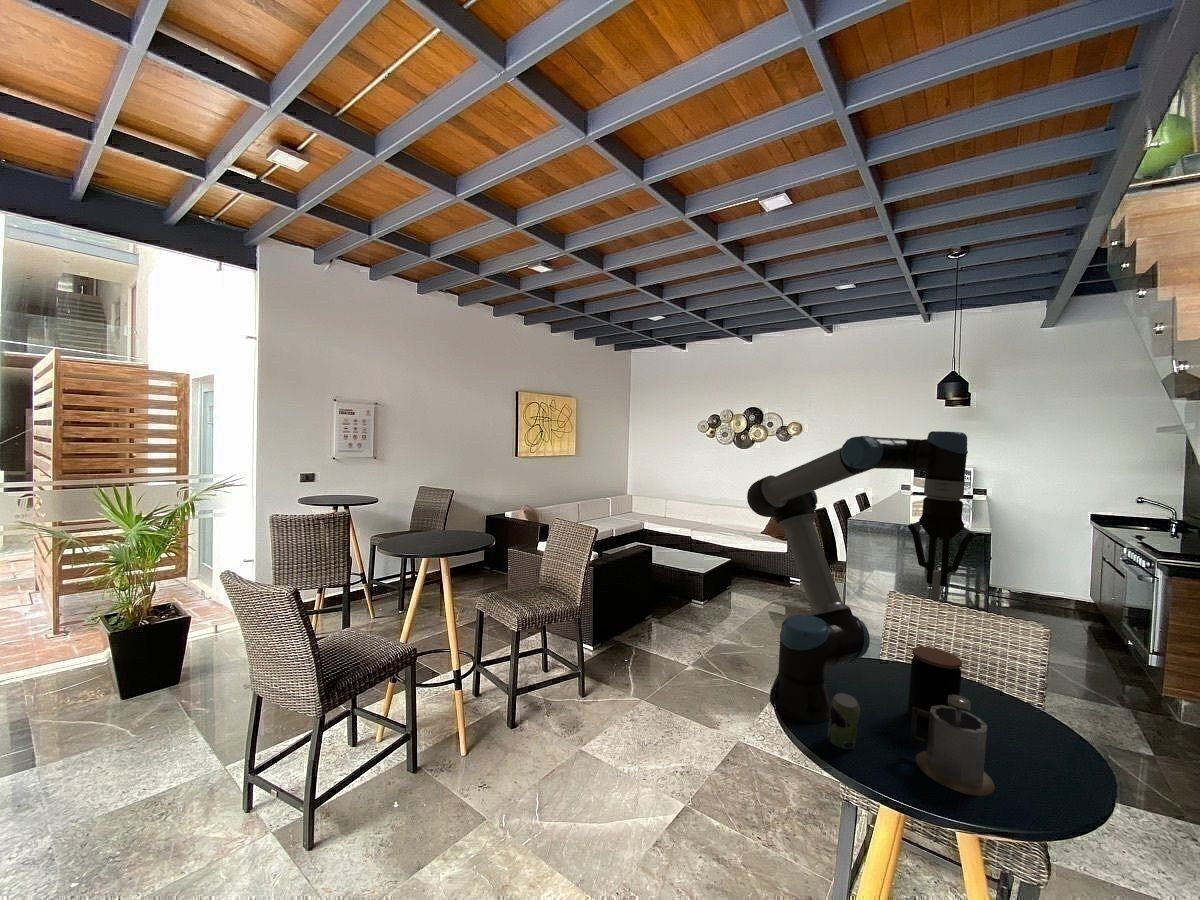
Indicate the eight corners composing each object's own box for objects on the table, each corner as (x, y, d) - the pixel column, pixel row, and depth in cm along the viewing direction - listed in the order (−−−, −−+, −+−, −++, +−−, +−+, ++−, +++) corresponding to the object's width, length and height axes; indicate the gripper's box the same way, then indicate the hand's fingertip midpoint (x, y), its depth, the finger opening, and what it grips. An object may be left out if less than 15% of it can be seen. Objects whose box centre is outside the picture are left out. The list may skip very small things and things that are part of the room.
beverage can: (847, 736, 118) (850, 688, 118) (863, 757, 111) (866, 705, 110) (821, 735, 118) (824, 687, 118) (835, 755, 111) (839, 704, 110)
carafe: (905, 764, 108) (909, 712, 107) (912, 743, 116) (915, 694, 115) (981, 795, 99) (986, 738, 99) (983, 771, 107) (987, 718, 106)
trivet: (911, 774, 106) (911, 772, 106) (920, 744, 116) (920, 742, 116) (993, 809, 97) (994, 806, 97) (995, 773, 107) (995, 770, 107)
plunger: (935, 757, 106) (939, 699, 105) (938, 743, 111) (942, 688, 110) (973, 771, 102) (977, 711, 101) (974, 756, 107) (979, 699, 106)
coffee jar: (965, 739, 119) (971, 668, 119) (917, 732, 121) (923, 661, 121) (944, 715, 130) (949, 649, 129) (900, 708, 132) (905, 643, 131)
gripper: (907, 495, 113) (900, 595, 114) (978, 503, 105) (969, 610, 106) (912, 493, 119) (905, 588, 120) (979, 500, 110) (971, 602, 111)
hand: (935, 598), depth 113 cm, fingers closed
